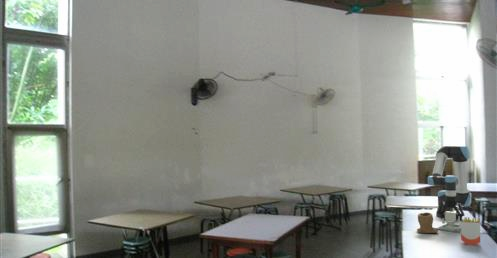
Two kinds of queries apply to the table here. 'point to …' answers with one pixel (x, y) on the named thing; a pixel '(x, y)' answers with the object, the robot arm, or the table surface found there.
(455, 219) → the pneumatic valve
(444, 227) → the docking tray
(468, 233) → the french fries container
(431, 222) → the stone cup
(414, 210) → the table surface
